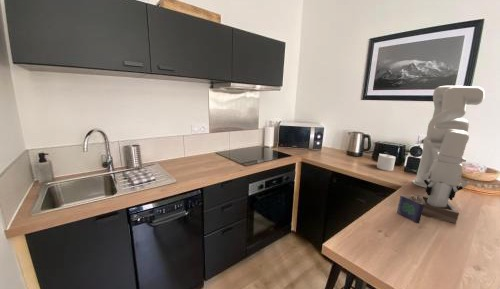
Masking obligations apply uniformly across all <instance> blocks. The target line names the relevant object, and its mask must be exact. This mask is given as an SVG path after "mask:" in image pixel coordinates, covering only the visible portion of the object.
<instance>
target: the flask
mask: <svg viewBox="0 0 500 289" xmlns="http://www.w3.org/2000/svg"><path fill="white" fill-rule="evenodd" d="M416 199H417V197H416V195H415V194H414V195H413V194H412V195H410V196H407V195H404V194H401V195H399V201H398V204H397V209H396V213H397V214H398V215H399V216H402V217H403V218H405V219H408V220H409V221H411V222H413V223H415V224H420V223H421V219H422V216H423V215H422V211H423V207H424V204H423V203H422V202H421V201H418V200H416Z"/></svg>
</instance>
